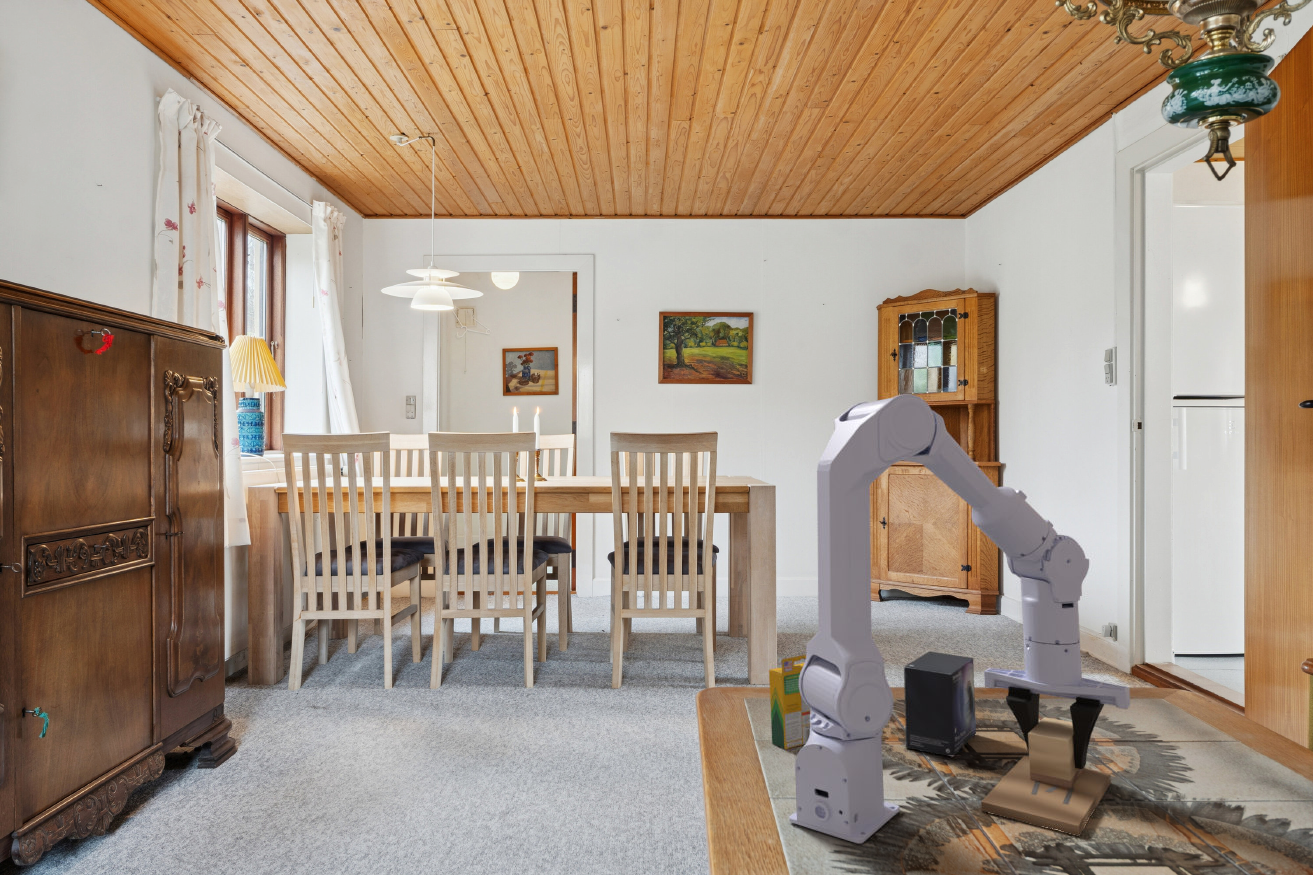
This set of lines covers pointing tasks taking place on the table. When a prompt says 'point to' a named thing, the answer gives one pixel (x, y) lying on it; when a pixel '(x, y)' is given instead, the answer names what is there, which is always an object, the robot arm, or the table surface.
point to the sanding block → (1053, 753)
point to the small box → (939, 703)
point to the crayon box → (788, 705)
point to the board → (1047, 798)
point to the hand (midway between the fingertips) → (1057, 761)
